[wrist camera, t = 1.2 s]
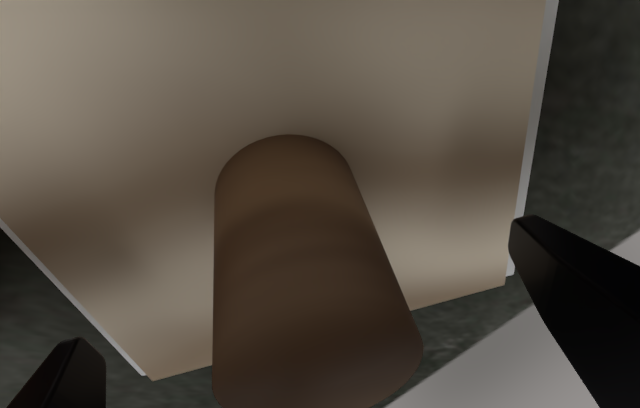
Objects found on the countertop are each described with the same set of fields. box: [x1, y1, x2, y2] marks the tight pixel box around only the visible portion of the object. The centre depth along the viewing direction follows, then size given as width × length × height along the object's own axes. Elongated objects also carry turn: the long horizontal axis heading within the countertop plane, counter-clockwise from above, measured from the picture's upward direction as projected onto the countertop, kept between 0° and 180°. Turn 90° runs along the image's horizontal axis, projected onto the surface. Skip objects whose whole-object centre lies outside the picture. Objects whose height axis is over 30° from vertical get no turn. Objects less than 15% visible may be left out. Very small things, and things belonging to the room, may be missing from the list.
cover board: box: [0, 0, 546, 408], centre depth 10 cm, size 13×13×6 cm
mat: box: [0, 0, 559, 376], centre depth 12 cm, size 15×15×1 cm
